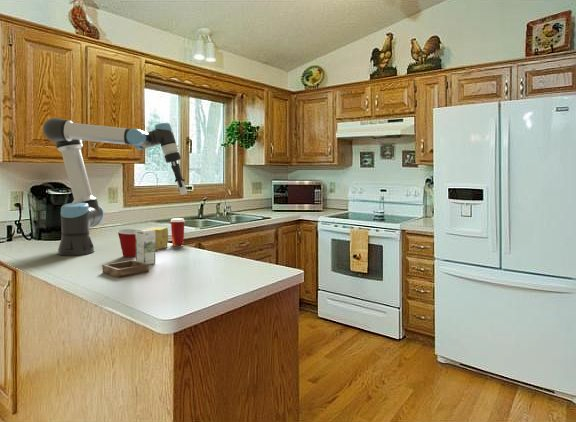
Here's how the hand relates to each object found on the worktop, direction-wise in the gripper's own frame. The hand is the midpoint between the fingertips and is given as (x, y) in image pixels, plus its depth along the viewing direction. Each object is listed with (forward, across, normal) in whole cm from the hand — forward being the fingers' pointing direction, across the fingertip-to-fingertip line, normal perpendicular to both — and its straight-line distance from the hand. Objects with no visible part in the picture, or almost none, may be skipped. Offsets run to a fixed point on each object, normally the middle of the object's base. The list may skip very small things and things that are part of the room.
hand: (184, 194), depth 202 cm
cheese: (+22, +5, +23) cm, 32 cm away
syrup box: (+24, -36, +22) cm, 48 cm away
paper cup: (+25, +12, +12) cm, 30 cm away
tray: (+23, -50, +27) cm, 61 cm away
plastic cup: (+21, -17, +30) cm, 41 cm away
